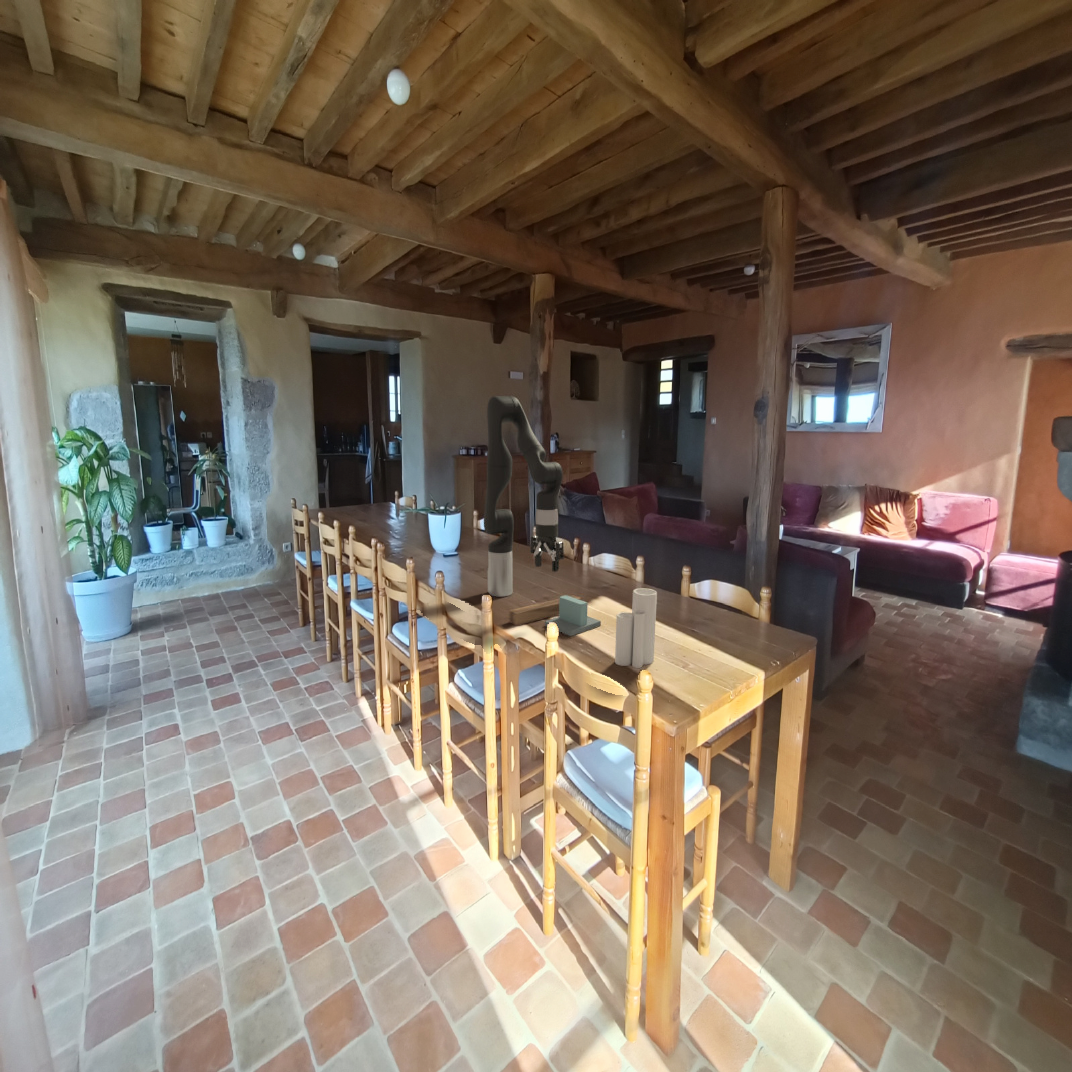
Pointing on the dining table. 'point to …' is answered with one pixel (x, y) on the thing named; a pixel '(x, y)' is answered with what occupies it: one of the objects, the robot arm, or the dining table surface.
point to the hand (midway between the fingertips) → (546, 568)
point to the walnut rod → (535, 612)
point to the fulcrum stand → (573, 616)
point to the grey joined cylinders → (637, 630)
